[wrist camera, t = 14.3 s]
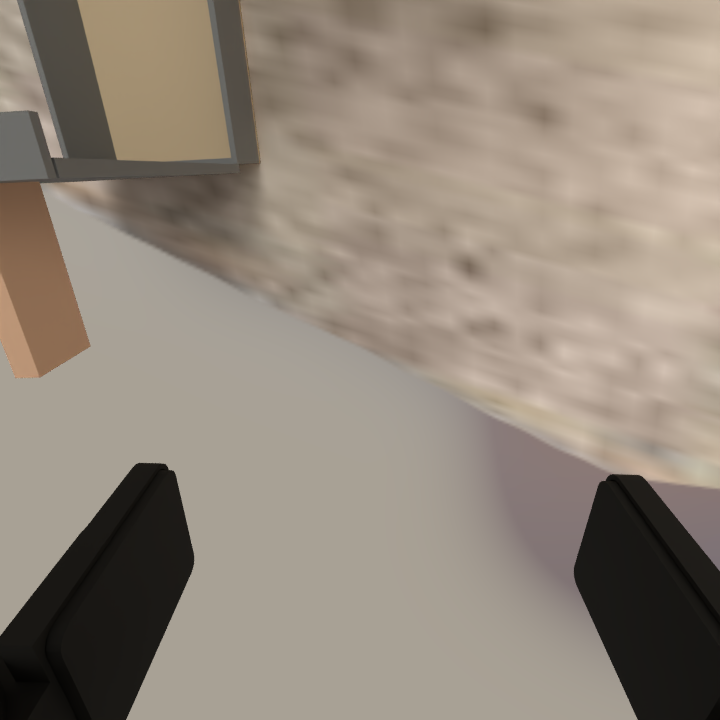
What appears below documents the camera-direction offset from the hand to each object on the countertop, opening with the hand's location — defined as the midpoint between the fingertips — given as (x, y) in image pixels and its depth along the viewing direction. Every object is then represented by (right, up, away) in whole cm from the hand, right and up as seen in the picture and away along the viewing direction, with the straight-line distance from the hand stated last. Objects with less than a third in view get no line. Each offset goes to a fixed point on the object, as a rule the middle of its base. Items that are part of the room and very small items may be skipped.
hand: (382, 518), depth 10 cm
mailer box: (-16, +30, +25) cm, 42 cm away
